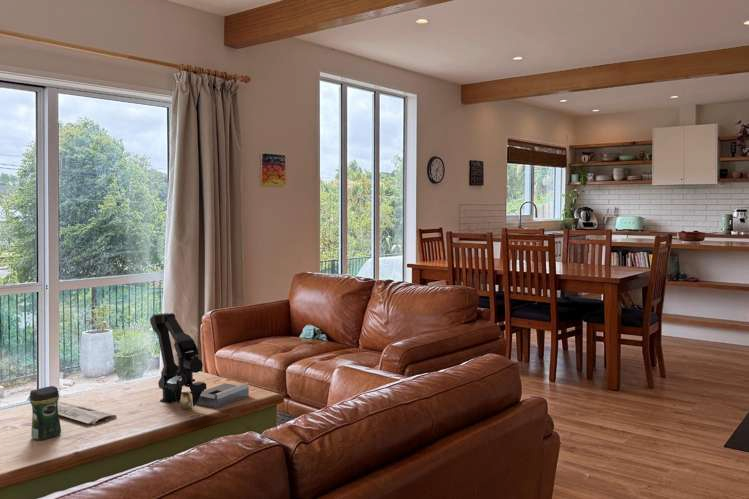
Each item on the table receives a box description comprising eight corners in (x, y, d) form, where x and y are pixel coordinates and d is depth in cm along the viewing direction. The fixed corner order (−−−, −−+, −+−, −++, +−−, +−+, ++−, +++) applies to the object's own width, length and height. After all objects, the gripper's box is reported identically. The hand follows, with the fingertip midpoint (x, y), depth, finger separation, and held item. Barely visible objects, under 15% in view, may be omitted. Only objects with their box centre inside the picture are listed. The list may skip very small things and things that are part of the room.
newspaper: (116, 419, 261) (116, 410, 260) (89, 428, 250) (89, 419, 250) (61, 405, 278) (61, 397, 278) (34, 413, 267) (34, 405, 267)
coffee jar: (54, 430, 246) (52, 383, 245) (64, 435, 241) (62, 386, 240) (28, 437, 239) (26, 388, 237) (37, 442, 234) (35, 392, 233)
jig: (193, 403, 279) (193, 389, 279) (225, 391, 296) (225, 378, 296) (217, 408, 272) (217, 394, 272) (248, 396, 290) (248, 383, 289)
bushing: (178, 409, 271) (178, 393, 270) (186, 406, 275) (186, 390, 274) (186, 411, 269) (185, 394, 268) (194, 408, 272) (193, 392, 272)
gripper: (154, 369, 268) (155, 406, 269) (187, 375, 259) (188, 413, 260) (175, 363, 278) (176, 399, 279) (207, 369, 268) (207, 405, 270)
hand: (186, 404), depth 271 cm, fingers open, 9 cm apart
